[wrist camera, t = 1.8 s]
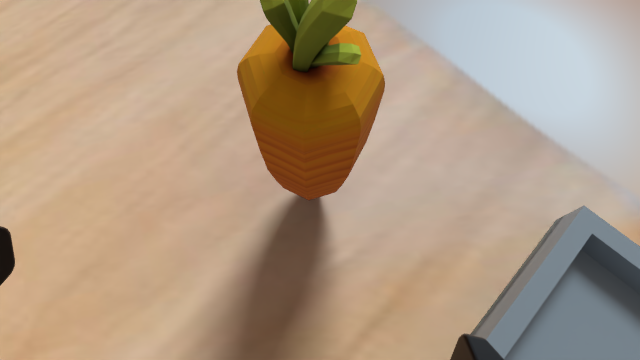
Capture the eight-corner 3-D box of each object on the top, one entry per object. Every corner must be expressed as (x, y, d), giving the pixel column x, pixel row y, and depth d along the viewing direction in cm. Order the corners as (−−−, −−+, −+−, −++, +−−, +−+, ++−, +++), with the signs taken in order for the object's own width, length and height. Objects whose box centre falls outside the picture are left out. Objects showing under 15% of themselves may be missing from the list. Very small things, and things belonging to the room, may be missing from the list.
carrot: (273, 146, 24) (218, -132, 10) (357, 153, 24) (420, -118, 10) (262, 228, 22) (173, 25, 8) (353, 235, 22) (423, 43, 8)
